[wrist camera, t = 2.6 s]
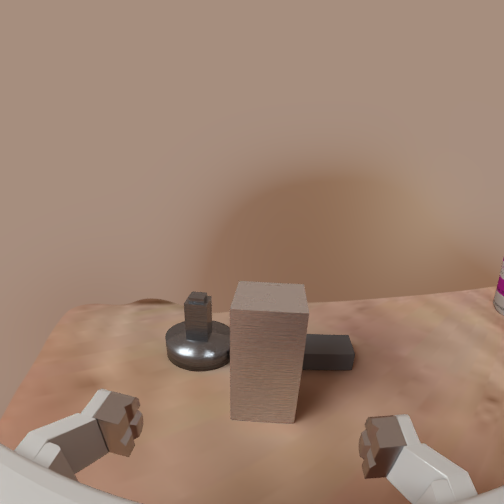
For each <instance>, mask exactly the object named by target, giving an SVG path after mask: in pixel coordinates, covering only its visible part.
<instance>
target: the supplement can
mask: <svg viewBox="0 0 504 504" xmlns="http://www.w3.org/2000/svg"><path fill="white" fill-rule="evenodd" d="M493 304H494V305H495V309H496V310H497V311H498V312H499V313H500V314H502V315H504V259H503V263H502V268H501V272H500V277H499V281H498V285H497V289H496V293H495V297H494V300H493Z"/></svg>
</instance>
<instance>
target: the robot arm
mask: <svg viewBox="0 0 504 504" xmlns="http://www.w3.org/2000/svg"><path fill="white" fill-rule="evenodd" d="M139 407H140V402H139V399H138V398H136V397H132V396H128V395H124V394H121V393H117V392H112V391H109V390H105V389H100V390H98V391H97V392H96V394H95V395H94V396H93V398H92V399H91V401H90V402H89V403H88V405H87V406H86V407H85V409H84V410H83V411H82V413H81V414H79V413H76V414H74V415H71V416H69V417H66V418H64V419H61V420H59V421H56V422H54V423H51V424H49V425H46V426H43V427H41V428H38V429H35V430H33V431H30V432H29V433H28V434H27V435H26V437H25V438H24V439H23V440H22V442H21V443H20V444H19V445H18V446H17V448H16V449H15V450H14V451H13V450H11V449H10V448H8V447H6V446H5V445H3V444H1V443H0V504H143V503H139V502H136V501H132V500H129V499H125V498H122V497H119V496H116V495H113V494H110V493H107V492H104V491H101V490H98V489H96V488H93V487H90V486H88V485H85V484H82V483H80V482H79V481H78V479H77V478H76V476H75V474H76V473H77V472H79V471H81V470H82V469H84V468H85V467H87V466H89V465H90V464H92V463H93V462H95V461H97V460H98V459H100V458H101V457H103V456H104V455H106V454H107V453H108V452H111V453H115V454H119V455H122V456H126V457H129V456H130V454H131V452H132V450H133V448H134V446H135V443H134V439H136V438H138V437H139V436H140V434H141V432H142V428H143V416H142V413H141V412H140V411H139V410H138V409H139ZM365 428H366V430H365V431H363V432H362V433H361V436H360V439H359V454H360V457H361V458H363V459H364V461H363V464H362V469H363V473H364V478H365V479H369V478H381V477H387V479H388V480H389V481H390V482H391V483H392V484H393V485H394V486H395V487H396V488H397V489H398V490H399V491H400V492H401V493H402V494H403V495H404V496H405V497H406V498H407V499H408V500H409V501H410V502H411V503H412V504H504V485H503V486H500V487H498V488H495V489H492V490H490V491H487V492H484V493H482V494H479V495H478V494H477V492H476V490H475V487H474V485H473V483H472V481H471V478H470V476H469V474H468V472H467V471H465V470H464V469H462V468H461V467H459V466H458V465H456V464H455V463H453V462H452V461H450V460H448V459H447V458H445V457H444V456H442V455H441V454H439V453H438V452H436V451H435V450H433V449H432V448H430V447H429V446H428V445H426V444H425V443H424V444H421V443H420V440H419V438H418V436H417V433H416V431H415V429H414V426H413V424H412V422H411V419H410V417H409V415H407V414H401V415H394V416H393V415H391V416H378V417H368V418H367V420H366V422H365Z"/></svg>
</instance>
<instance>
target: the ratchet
mask: <svg viewBox="0 0 504 504" xmlns="http://www.w3.org/2000/svg"><path fill="white" fill-rule="evenodd" d="M211 306H212V305H211V296H207V293H202V292H192V293H191V294H190V295H189V297H188V299H187V300H186V302H185V303H184V312H185V321H184V322H181V323H178V324H176V325H174V326H173V327H171V328H170V329H169V330H168V331H167V333H166V347H167V355H168V358H169V360H170V361H171V362H172V363H173V364H175V365H176V366H178V367H180V368H183V369H186V370H191V371H208V370H213V369H217V368H220V367H222V366H224V365H225V364H227V363H228V362H229V361H230V328H229V327H228V326H226V325H225V324H222V323H220V322H217V321H212V307H211ZM354 357H355V353H354V350H353V347H352V344H351V341H350V338H349V336H348V335H319V334H307V335H306V343H305V351H304V358H303V366H302V369H307V370H352V366H353V361H354Z"/></svg>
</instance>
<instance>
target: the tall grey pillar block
mask: <svg viewBox="0 0 504 504" xmlns="http://www.w3.org/2000/svg"><path fill="white" fill-rule="evenodd" d="M308 318H309V310H308V305H307V299H306V293H305V288H304V284H283V283H266V282H247V281H239V283H238V287H237V289H236V292H235V295H234V298H233V302H232V304H231V307H230V419H233V420H244V421H257V422H274V423H294V419H295V413H296V406H297V400H298V393H299V387H300V380H301V373H302V366H303V358H304V351H305V343H306V335H307V327H308Z"/></svg>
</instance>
